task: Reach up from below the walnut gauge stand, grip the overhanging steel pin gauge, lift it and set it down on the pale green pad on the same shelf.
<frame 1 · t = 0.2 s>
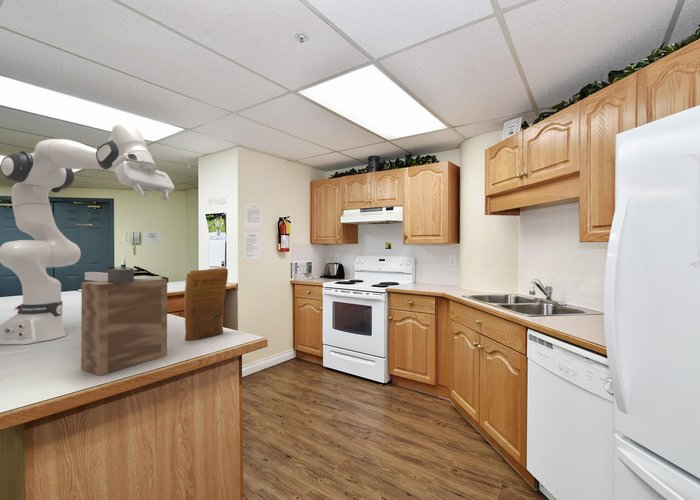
hand: (155, 198, 114), 54 cm above the countertop, fingers open, 8 cm apart
pancake mix bag: (206, 337, 133), on the countertop
gauge stand: (126, 362, 103), on the countertop
pin gauge: (106, 281, 101), point 26 cm above the countertop, touching gauge stand
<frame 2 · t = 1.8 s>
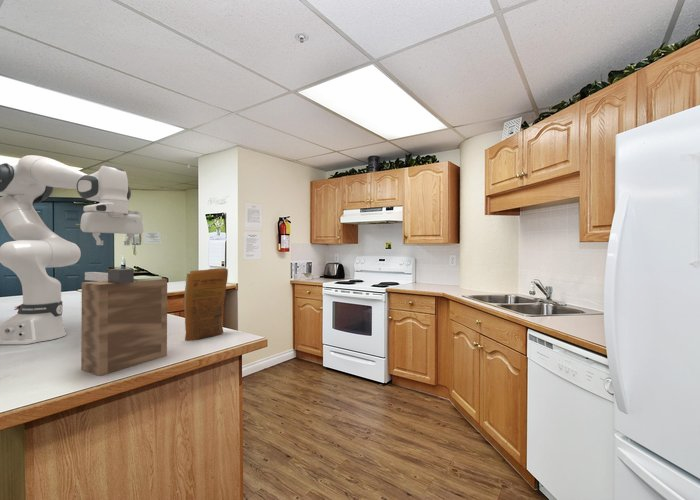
hand: (114, 245, 123), 37 cm above the countertop, fingers open, 8 cm apart
nothing on the countertop moved.
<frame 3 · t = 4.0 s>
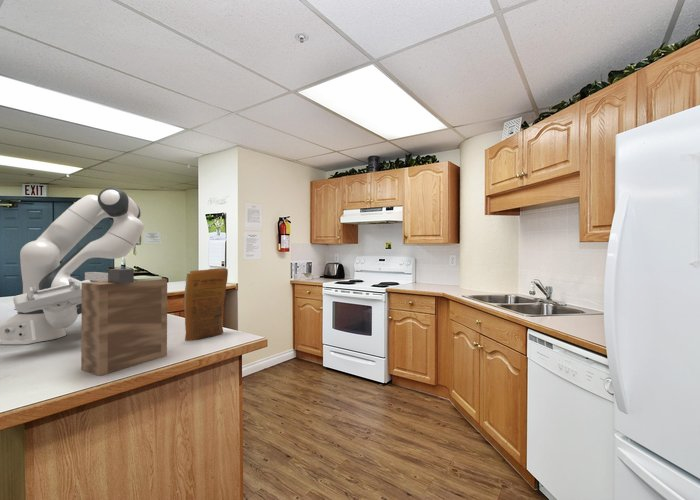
hand: (52, 284, 107), 24 cm above the countertop, fingers open, 8 cm apart
nothing on the countertop moved.
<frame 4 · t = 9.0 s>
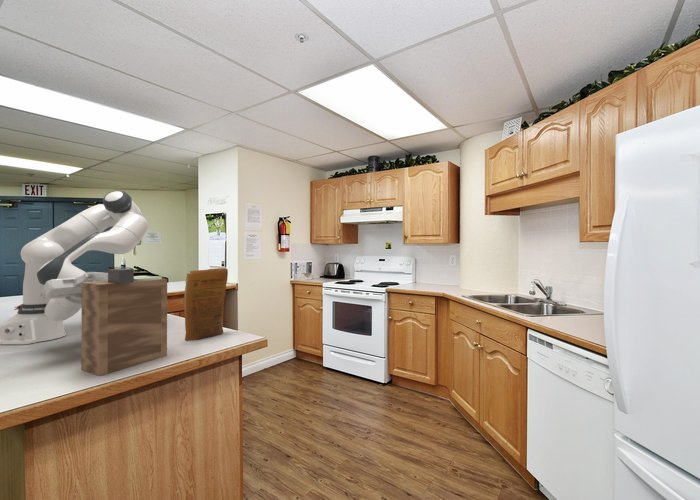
hand: (95, 274, 104), 28 cm above the countertop, fingers closed on pin gauge, 2 cm apart
pin gauge: (106, 281, 101), point 26 cm above the countertop, touching gauge stand, gripper
everything else where it was.
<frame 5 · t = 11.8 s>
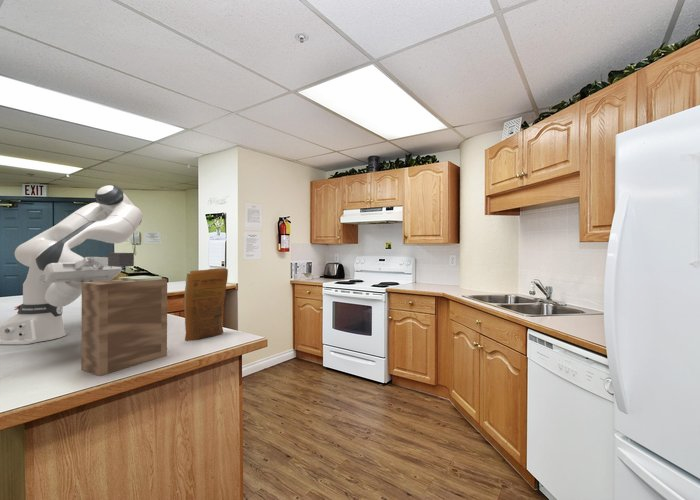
hand: (95, 259, 103), 33 cm above the countertop, fingers closed on pin gauge, 2 cm apart
pin gauge: (106, 265, 101), point 31 cm above the countertop, touching gripper
everything else where it was.
when the fingers open (30 cm above the countertop, at t = 14.7 s): pin gauge drops 1 cm, resting on gauge stand.
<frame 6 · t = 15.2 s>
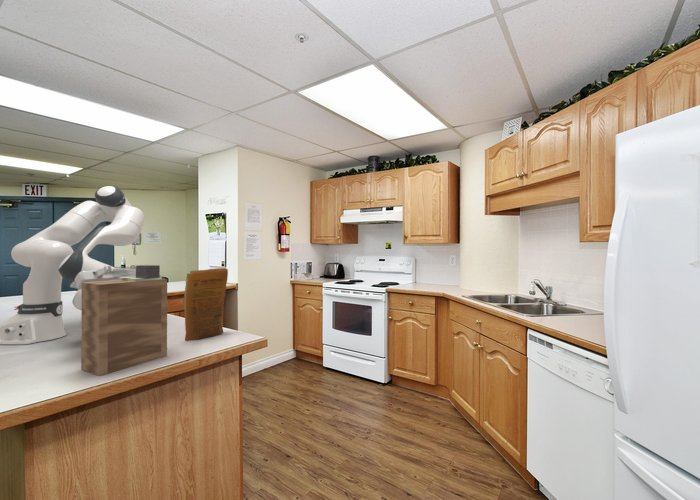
hand: (122, 267, 111), 30 cm above the countertop, fingers open, 7 cm apart
pin gauge: (133, 276, 108), point 27 cm above the countertop, touching gauge stand
everything else where it was.
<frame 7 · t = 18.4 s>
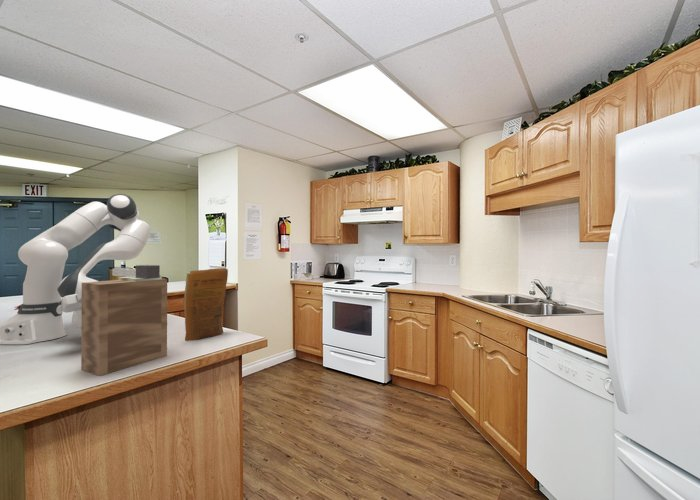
hand: (103, 288, 112), 22 cm above the countertop, fingers open, 8 cm apart
nothing on the countertop moved.
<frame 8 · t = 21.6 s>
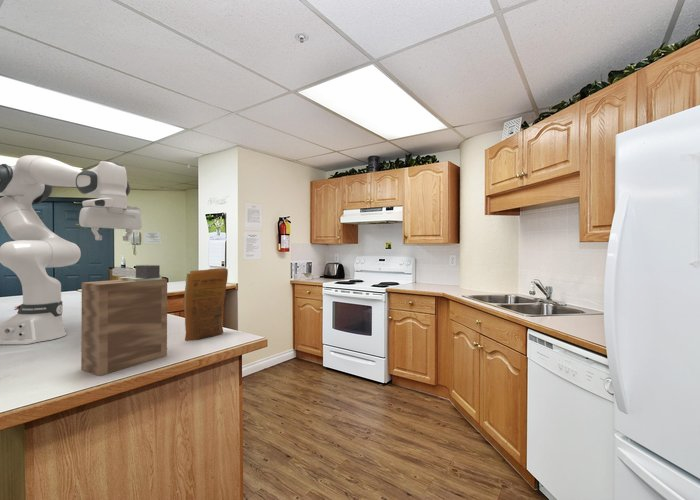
hand: (112, 240, 123), 39 cm above the countertop, fingers open, 8 cm apart
nothing on the countertop moved.
at the end: pin gauge 0.3 cm from the target spot on the gauge stand, point 26.8 cm above the gauge stand's base; pin gauge tilted 0°; the gripper is holding nothing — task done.
